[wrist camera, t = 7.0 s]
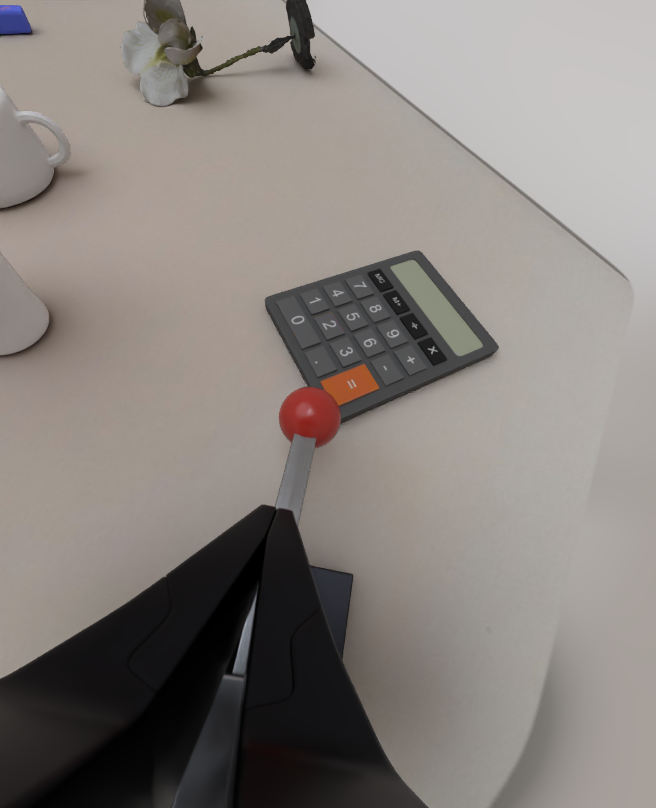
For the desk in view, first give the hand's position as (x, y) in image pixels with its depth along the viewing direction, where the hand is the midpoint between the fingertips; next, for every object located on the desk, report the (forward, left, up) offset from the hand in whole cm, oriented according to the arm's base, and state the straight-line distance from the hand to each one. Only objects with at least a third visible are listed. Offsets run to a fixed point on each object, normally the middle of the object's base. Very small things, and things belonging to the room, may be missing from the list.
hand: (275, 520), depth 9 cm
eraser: (+61, +34, -12) cm, 71 cm away
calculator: (+16, -8, -12) cm, 21 cm away
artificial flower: (+53, +6, -12) cm, 55 cm away
